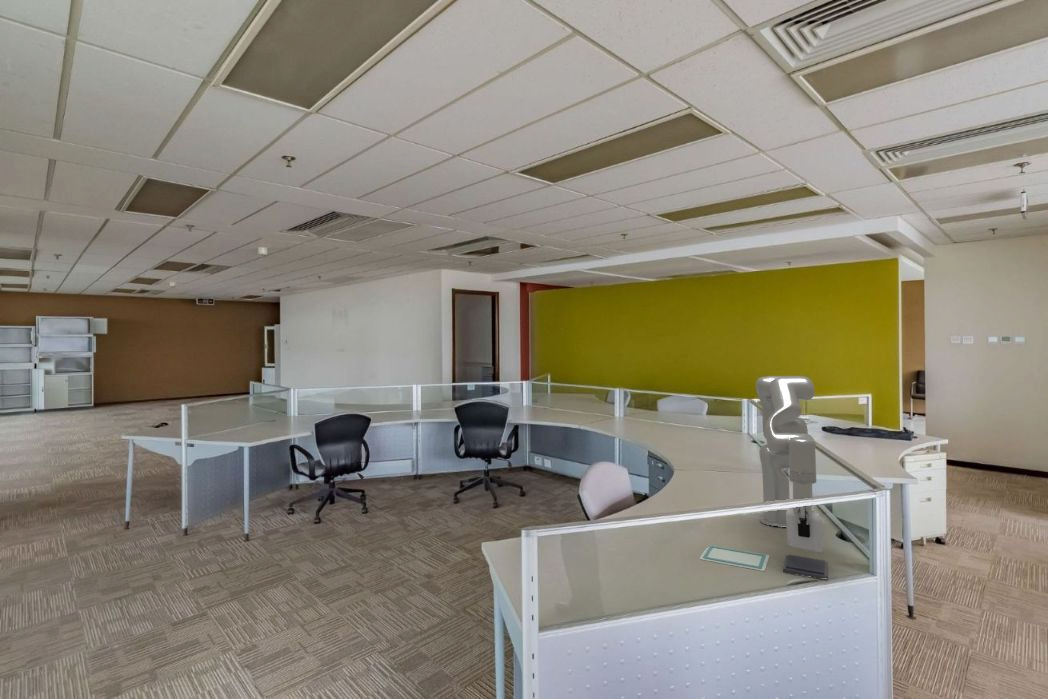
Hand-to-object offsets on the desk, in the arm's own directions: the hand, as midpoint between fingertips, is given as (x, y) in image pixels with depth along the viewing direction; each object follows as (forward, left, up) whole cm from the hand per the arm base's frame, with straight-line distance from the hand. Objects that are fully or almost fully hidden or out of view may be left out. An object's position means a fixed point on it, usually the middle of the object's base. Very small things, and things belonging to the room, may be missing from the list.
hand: (804, 533), depth 160 cm
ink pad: (0, 0, -11) cm, 11 cm away
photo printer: (0, 0, -5) cm, 5 cm away
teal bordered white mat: (+1, -21, -11) cm, 24 cm away
